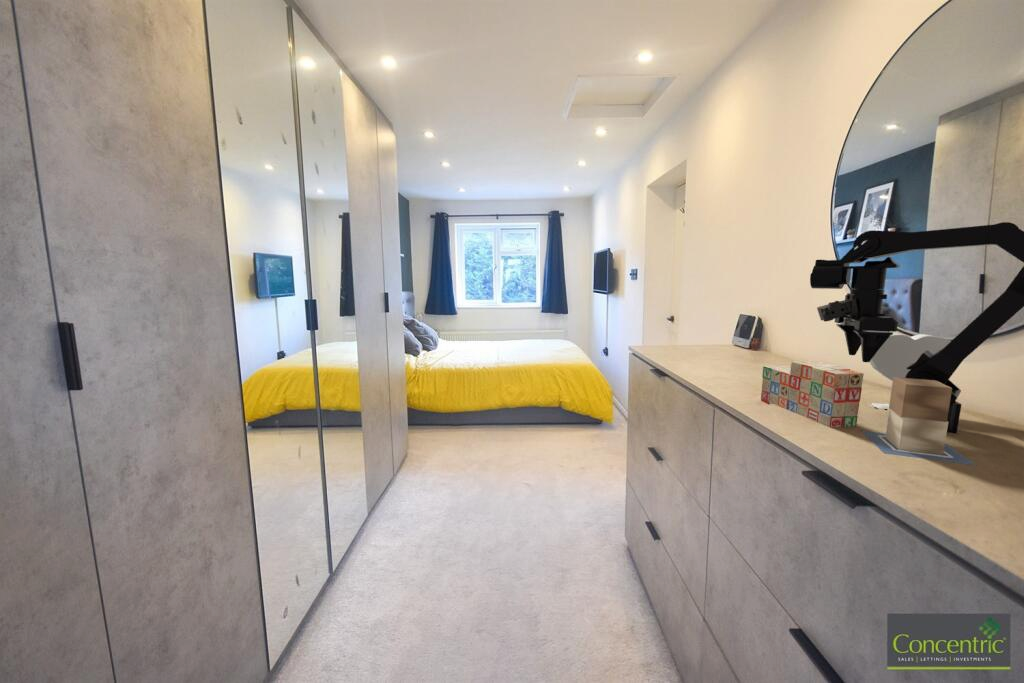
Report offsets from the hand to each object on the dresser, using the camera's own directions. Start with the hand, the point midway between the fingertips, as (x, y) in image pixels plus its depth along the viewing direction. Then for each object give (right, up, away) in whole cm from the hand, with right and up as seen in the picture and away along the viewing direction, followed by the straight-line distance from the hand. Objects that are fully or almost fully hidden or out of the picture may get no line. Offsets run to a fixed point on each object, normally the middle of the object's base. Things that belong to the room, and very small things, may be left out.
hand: (858, 358), depth 95 cm
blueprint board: (-5, -16, -18) cm, 25 cm away
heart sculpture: (+15, -13, +6) cm, 20 cm away
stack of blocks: (-11, -13, +2) cm, 17 cm away
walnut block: (-6, -9, -19) cm, 22 cm away
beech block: (-5, -15, -18) cm, 25 cm away
